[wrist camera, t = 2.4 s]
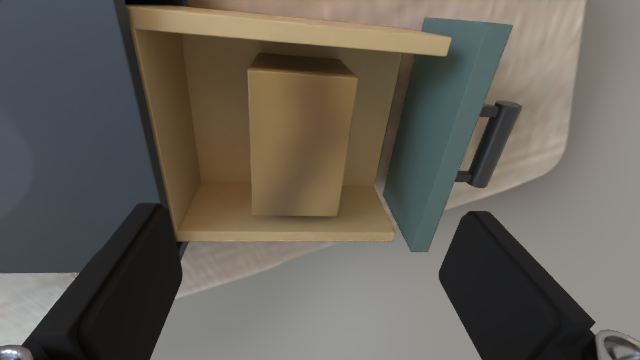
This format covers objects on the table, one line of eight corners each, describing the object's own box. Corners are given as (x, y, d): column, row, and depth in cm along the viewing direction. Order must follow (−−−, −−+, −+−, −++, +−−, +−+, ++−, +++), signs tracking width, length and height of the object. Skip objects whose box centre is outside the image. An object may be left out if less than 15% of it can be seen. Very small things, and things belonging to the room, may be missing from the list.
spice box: (260, 169, 21) (252, 215, 17) (258, 52, 17) (247, 69, 13) (327, 171, 22) (337, 217, 17) (340, 59, 18) (358, 78, 13)
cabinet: (184, -20, 17) (105, -40, 10) (210, 191, 24) (176, 271, 17) (-183, -61, 15) (-658, -128, 7) (-32, 185, 22) (-192, 275, 15)
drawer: (501, 25, 19) (596, 33, 13) (440, 196, 26) (484, 252, 20) (166, -10, 16) (99, -19, 10) (196, 190, 23) (165, 253, 17)
